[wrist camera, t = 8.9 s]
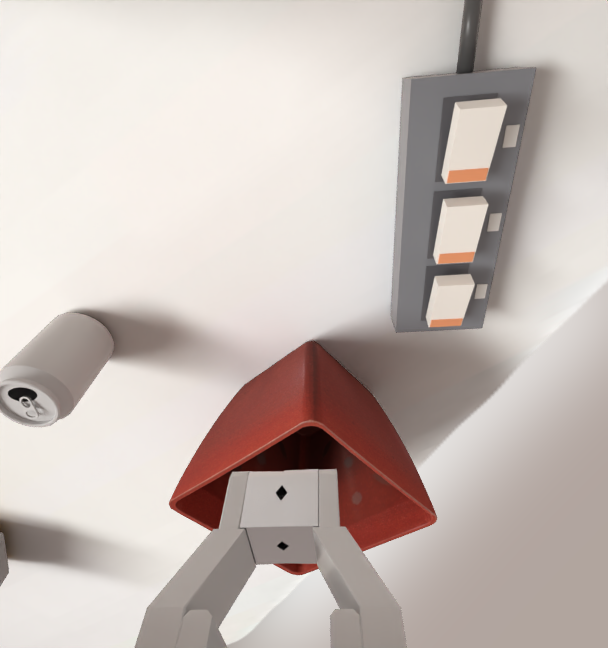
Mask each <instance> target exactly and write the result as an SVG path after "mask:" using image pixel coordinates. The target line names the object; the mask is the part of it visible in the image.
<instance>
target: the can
mask: <svg viewBox="0 0 608 648" xmlns="http://www.w3.org/2000/svg"><path fill="white" fill-rule="evenodd" d="M113 351H114V341H113V338H112V335H111V334H110V333H109V331H108V330H107V329H106V327H105V326H104V325H102V324H101V323H100V322H99V321H98V320H96V319H94V318H92V317H90V316H87V315H83V314H80V313H64V314H61V315H58V316H57V317H56V318H54V319H53V320H52V321H51V322H50V323H49V324H48V325H47V326H46V327H45V328H44V329H43V330H42V331H41V332H40V333H39V334H38V335H37V336H36V337H34V338H33V339H32V340H31V341H30V342H29V343H28V344H27V345H26V346H25V347H24V348H23V349H22V350H21V351H20V352H19V353H18V354H17V355H16V356H15V357H14V358H13V359H12V360H11V361H10V362H9V363H8V364H6V365H5V366H4V367H3V368H2V369H1V370H0V412H1V413H2V414H3V415H4V416H6V417H7V418H9V419H11V420H12V421H14V422H17V423H19V424H22V425H25V426H30V427H46V426H50V425H52V424H53V423H55V422H56V421H57V420H59V419H63V418H65V417H66V416H68V415H69V414H70V413H71V412H72V411H73V409H74V408H75V406H76V405H77V403H78V402H79V401H80V399H81V398H82V396H83V395H84V394H85V392H86V391H87V389H88V388H89V386H90V385H91V384H92V382H93V381H94V379H95V378H96V377H97V375H98V374H99V372H100V371H101V369H102V368H103V367H104V365H105V364H106V362H107V361H108V360H109V358H110V357H111V355H112V353H113Z"/></svg>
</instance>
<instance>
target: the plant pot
mask: <svg viewBox="0 0 608 648" xmlns="http://www.w3.org/2000/svg"><path fill="white" fill-rule="evenodd" d="M308 469H318V470H324V469H337V479H338V498H339V517H340V527H346V528H347V530H348V531H349V533H350V534H351V536H352V537H353V538H354V540H355V541H356V543H357V544H358V546H359V547H360V549H361V550H362V552H363V551H365V550H368V549H370V548H373V547H376V546H378V545H381V544H383V543H386V542H388V541H391V540H394V539H396V538H399V537H402V536H404V535H406V534H409V533H412V532H415V531H417V530H420V529H422V528H425V527H428V526H430V525H432V524H434V523H435V522H436V520H437V516H436V513H435V511H434V508H433V505H432V503H431V501H430V499H429V496H428V494H427V492H426V489H425V488H424V485H423V483H422V480H421V478H420V476H419V474H418V472H417V470H416V467H415V465H414V463H413V461H412V459H411V457H410V455H409V453H408V451H407V450H406V448H405V446H404V444H403V442H402V441H401V439H400V437H399V435H398V433H397V432H396V430H395V428H394V427H393V425H392V423H391V422H390V420H389V419H388V417H387V415H386V414H385V412H384V411H383V409H382V408H381V406H380V405H379V403H378V402H377V401H376V399H375V398H374V396H373V395H372V394H371V393H370V392H369V391H368V390H367V389H366V388H365V387H364V386H363V385H362V384H361V383H360V382H359V381H357V380H356V379H355V378H354V377H353V376H352V375H351V374H350V373H349V372H348V371H347V370H346V369H345V368H344V367H342V366H341V365H340V364H339V363H338V362H337V361H336V360H335V359H334V358H333V357H332V356H331V355H330V354H329V353H327V352H326V351H325V350H324V349H323V348H322V347H321V346H320V345H319V344H318V343H316V342H313V341H310V342H306V343H304V344H303V345H301V346H300V347H299V348H297V349H296V350H294V351H293V352H291V353H290V354H288V355H287V356H285V357H284V358H283V359H281V360H280V361H278V362H277V363H275V364H274V365H273V366H271V367H270V368H268V369H267V370H265V371H264V372H262V373H261V374H260V375H258V376H257V377H255V378H254V379H252V380H251V381H250V382H248V383H247V384H245V385H244V386H243V387H242V388H241V389H240V390H239V391H238V393H237V394H236V395H235V396H234V397H233V399H232V400H231V401H230V403H229V404H228V405H227V407H226V408H225V409H224V411H223V412H222V413H221V415H220V416H219V417H218V419H217V420H216V422H215V423H214V425H213V426H212V428H211V429H210V431H209V432H208V434H207V435H206V437H205V438H204V440H203V441H202V443H201V445H200V446H199V448H198V449H197V451H196V453H195V455H194V456H193V458H192V460H191V461H190V463H189V465H188V467H187V468H186V470H185V472H184V474H183V476H182V477H181V479H180V481H179V483H178V485H177V487H176V489H175V491H174V493H173V495H172V498H171V500H170V502H169V505H170V508H171V509H173V510H175V511H176V512H178V513H180V514H181V515H183V516H185V517H187V518H189V519H190V520H192V521H194V522H196V523H198V524H200V525H201V526H203V527H205V528H207V529H209V530H210V531H212V530H213V529H219V525H220V520H221V516H222V511H223V506H224V502H225V497H226V492H227V487H228V483H229V478H230V476H231V474H232V472H246V471H250V472H256V471H286V470H308ZM274 565H276V566H277V567H279V568H281V569H283V570H285V571H287V572H289V573H291V574H294V575H303V574H306V573H308V572H311V571H314V570H316V569H319V568H318V566H317V564H298V563H282V564H274Z"/></svg>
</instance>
